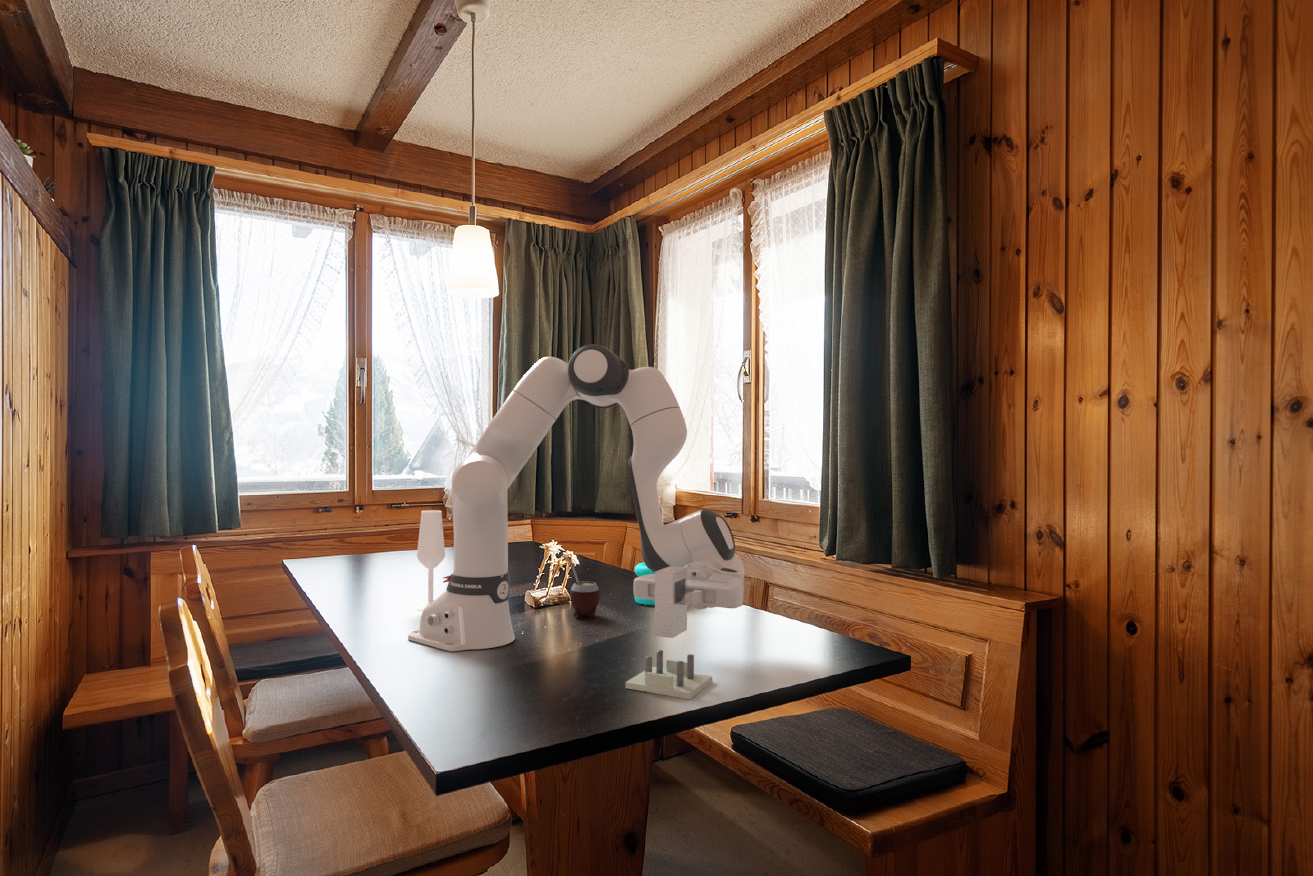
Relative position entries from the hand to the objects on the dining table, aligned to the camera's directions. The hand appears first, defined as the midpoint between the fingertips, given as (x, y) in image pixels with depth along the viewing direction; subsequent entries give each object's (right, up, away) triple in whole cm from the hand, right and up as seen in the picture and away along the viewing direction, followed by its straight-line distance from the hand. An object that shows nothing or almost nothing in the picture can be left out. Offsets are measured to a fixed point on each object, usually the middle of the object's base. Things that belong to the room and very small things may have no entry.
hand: (670, 598), depth 131 cm
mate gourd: (-20, -15, +49) cm, 55 cm away
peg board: (0, -15, 0) cm, 15 cm away
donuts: (-3, -15, +65) cm, 67 cm away
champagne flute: (-59, -14, +56) cm, 83 cm away
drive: (0, -6, 0) cm, 6 cm away
